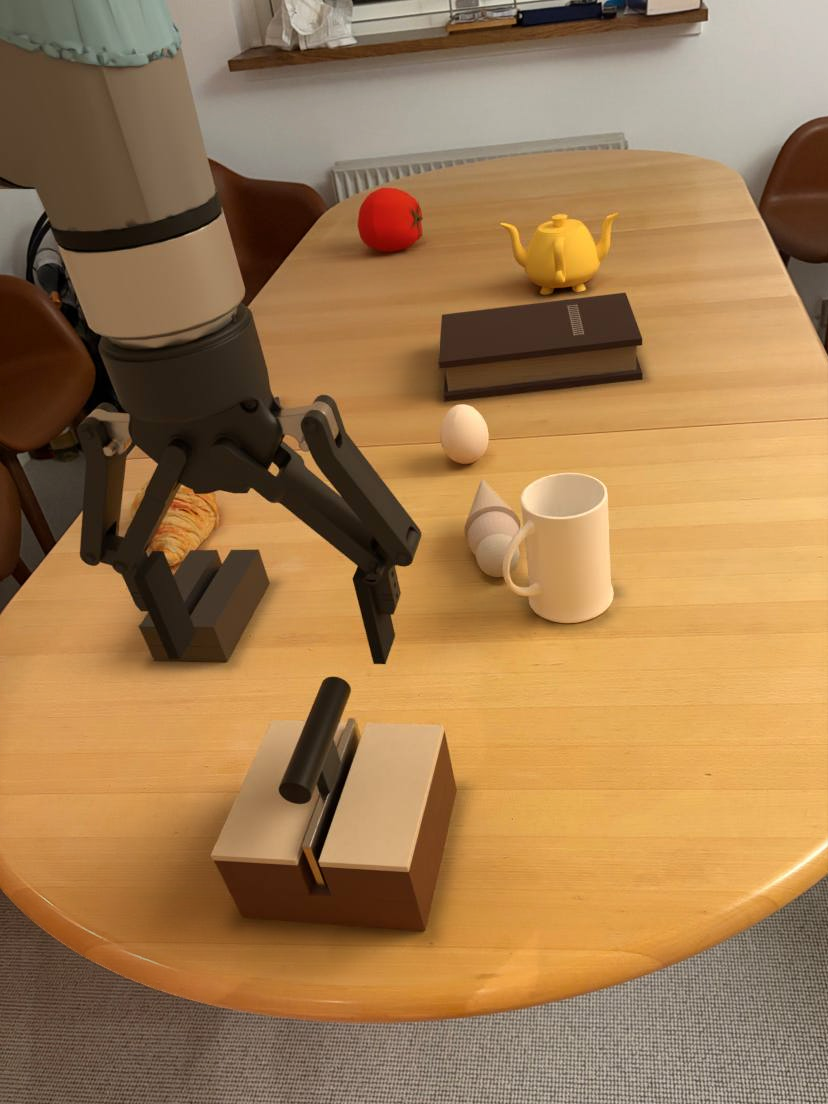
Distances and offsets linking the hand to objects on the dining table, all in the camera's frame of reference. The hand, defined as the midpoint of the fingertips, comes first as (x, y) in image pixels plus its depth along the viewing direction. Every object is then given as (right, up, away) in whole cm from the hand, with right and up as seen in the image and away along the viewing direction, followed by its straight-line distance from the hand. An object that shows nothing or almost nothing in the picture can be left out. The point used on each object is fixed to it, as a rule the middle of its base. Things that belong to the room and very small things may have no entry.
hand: (281, 648), depth 58 cm
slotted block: (-15, +3, +38) cm, 41 cm away
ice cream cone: (+14, +11, +43) cm, 46 cm away
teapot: (+27, +62, +101) cm, 122 cm away
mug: (+20, +4, +34) cm, 39 cm away
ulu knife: (+2, -13, +11) cm, 17 cm away
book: (+21, +42, +78) cm, 91 cm away
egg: (+11, +23, +58) cm, 63 cm away
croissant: (-24, +14, +54) cm, 61 cm away
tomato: (-5, +81, +129) cm, 152 cm away
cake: (+3, -16, +13) cm, 21 cm away
